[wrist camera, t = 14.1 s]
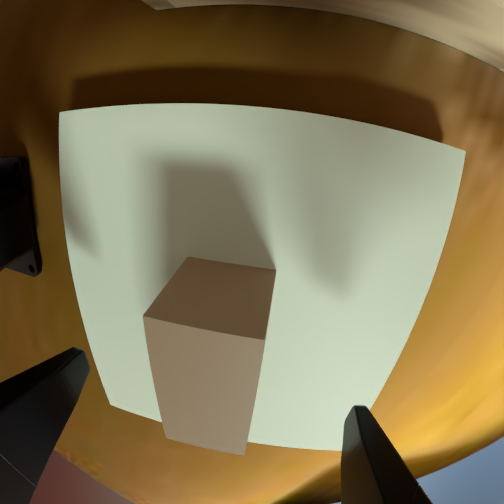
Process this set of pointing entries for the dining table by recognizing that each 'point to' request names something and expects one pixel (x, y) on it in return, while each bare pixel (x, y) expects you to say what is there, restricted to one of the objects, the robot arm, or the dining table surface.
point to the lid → (249, 262)
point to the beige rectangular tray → (408, 19)
